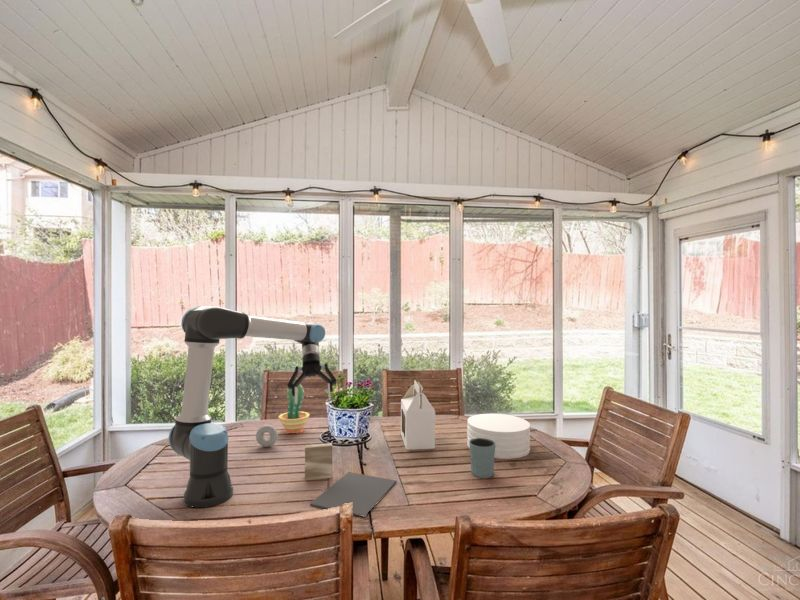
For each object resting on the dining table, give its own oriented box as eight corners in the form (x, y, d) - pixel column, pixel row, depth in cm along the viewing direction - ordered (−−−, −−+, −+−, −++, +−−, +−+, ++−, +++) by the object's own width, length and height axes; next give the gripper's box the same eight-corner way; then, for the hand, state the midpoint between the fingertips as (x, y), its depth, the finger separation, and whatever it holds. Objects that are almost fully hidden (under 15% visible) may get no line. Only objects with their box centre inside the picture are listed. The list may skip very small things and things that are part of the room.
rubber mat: (365, 517, 123) (365, 515, 123) (309, 505, 131) (309, 503, 131) (396, 482, 148) (396, 480, 148) (348, 473, 155) (348, 471, 155)
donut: (279, 445, 184) (279, 423, 184) (276, 448, 181) (276, 426, 181) (257, 445, 184) (257, 423, 184) (254, 448, 181) (254, 426, 181)
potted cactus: (314, 427, 210) (315, 380, 210) (299, 437, 195) (300, 386, 195) (288, 425, 214) (289, 378, 214) (272, 434, 199) (272, 384, 199)
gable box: (435, 449, 181) (435, 387, 181) (406, 450, 179) (406, 387, 179) (426, 433, 203) (426, 377, 203) (400, 433, 202) (401, 378, 202)
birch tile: (304, 476, 152) (305, 445, 152) (331, 474, 154) (331, 443, 154) (304, 480, 149) (305, 447, 149) (332, 477, 151) (332, 445, 151)
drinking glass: (476, 479, 150) (476, 447, 150) (464, 469, 160) (464, 438, 160) (500, 476, 153) (500, 445, 153) (487, 466, 162) (487, 436, 162)
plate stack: (456, 440, 192) (456, 416, 192) (505, 434, 202) (505, 411, 202) (489, 462, 166) (489, 435, 166) (543, 454, 176) (543, 427, 176)
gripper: (339, 358, 184) (343, 401, 171) (283, 364, 179) (282, 408, 166) (339, 349, 178) (343, 393, 165) (281, 355, 173) (280, 400, 160)
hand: (313, 400), depth 165 cm, fingers open, 13 cm apart
